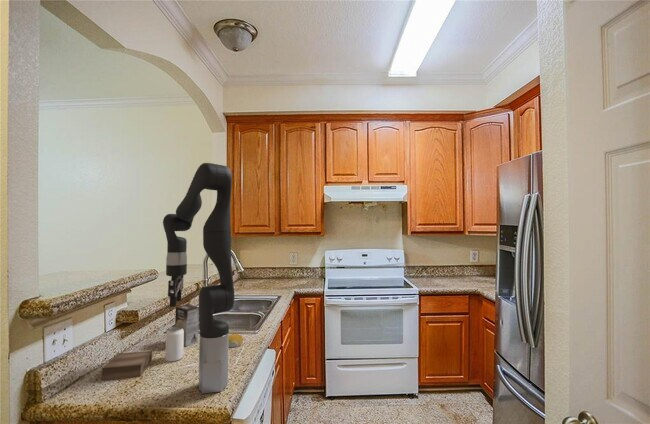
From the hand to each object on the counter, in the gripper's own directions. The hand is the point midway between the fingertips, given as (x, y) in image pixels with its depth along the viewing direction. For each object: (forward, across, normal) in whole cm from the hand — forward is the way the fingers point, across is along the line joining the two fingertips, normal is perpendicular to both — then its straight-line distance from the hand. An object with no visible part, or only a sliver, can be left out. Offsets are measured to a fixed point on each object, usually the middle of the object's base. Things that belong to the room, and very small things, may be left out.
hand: (175, 303), depth 124 cm
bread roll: (+22, +11, -22) cm, 33 cm away
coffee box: (+22, +17, -1) cm, 28 cm away
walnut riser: (+22, -7, +14) cm, 27 cm away
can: (+22, 0, 0) cm, 22 cm away
